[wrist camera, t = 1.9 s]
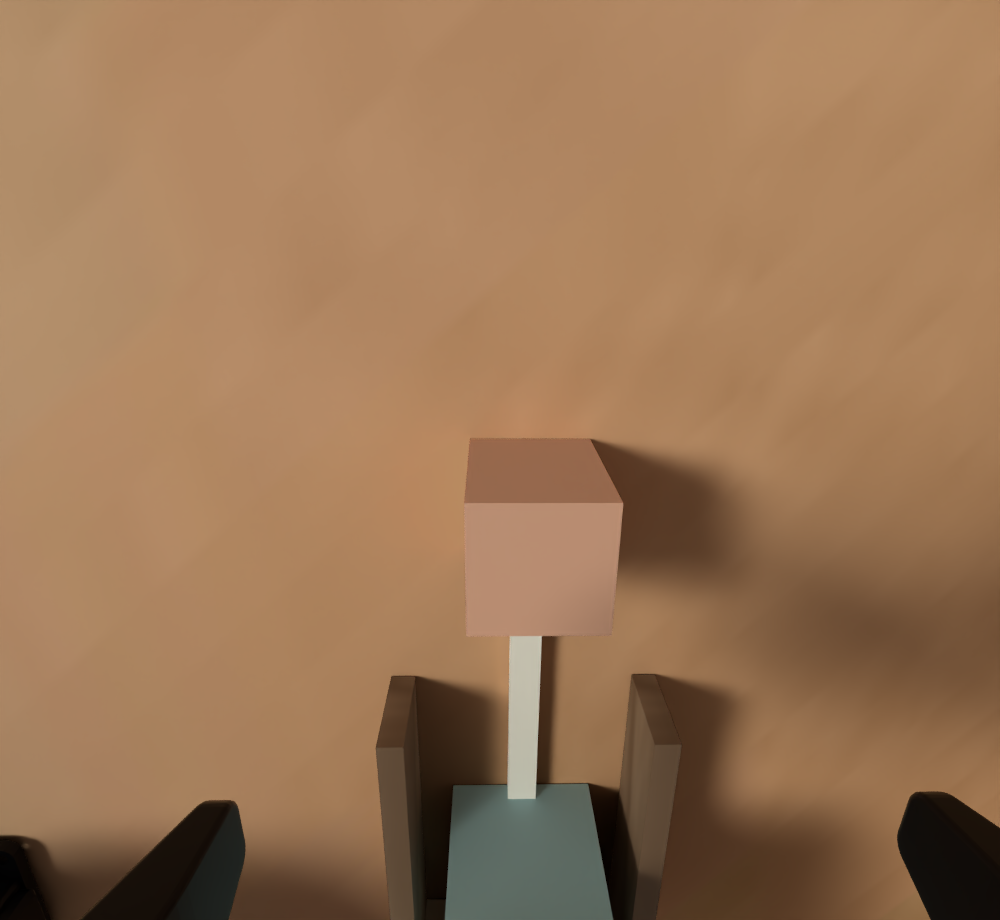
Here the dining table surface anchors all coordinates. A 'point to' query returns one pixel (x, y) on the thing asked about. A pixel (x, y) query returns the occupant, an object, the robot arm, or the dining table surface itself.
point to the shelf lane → (638, 813)
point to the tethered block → (533, 672)
